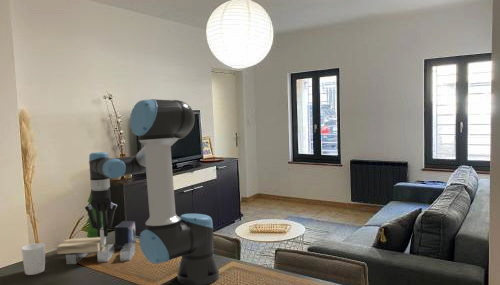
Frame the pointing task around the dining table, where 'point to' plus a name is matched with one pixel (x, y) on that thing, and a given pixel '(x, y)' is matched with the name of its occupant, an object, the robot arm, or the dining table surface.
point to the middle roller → (105, 253)
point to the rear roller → (127, 252)
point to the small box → (124, 234)
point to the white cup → (34, 258)
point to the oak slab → (79, 245)
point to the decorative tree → (91, 231)
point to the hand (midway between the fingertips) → (103, 243)
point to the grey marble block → (74, 257)
